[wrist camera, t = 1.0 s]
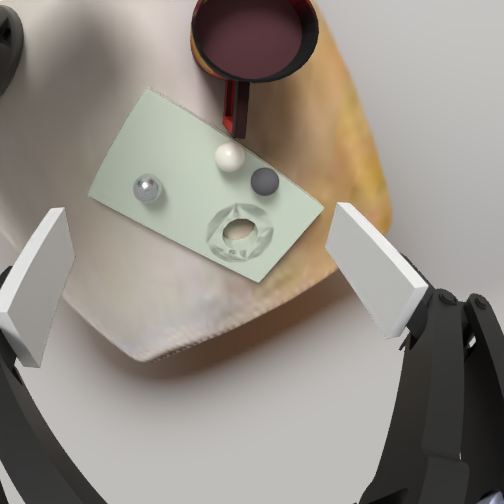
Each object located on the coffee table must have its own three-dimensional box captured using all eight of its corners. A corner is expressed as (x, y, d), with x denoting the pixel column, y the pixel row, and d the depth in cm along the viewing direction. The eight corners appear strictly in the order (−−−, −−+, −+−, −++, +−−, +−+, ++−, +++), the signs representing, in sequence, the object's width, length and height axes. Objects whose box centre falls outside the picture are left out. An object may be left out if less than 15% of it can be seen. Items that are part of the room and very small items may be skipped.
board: (92, 187, 33) (86, 195, 31) (149, 87, 28) (146, 87, 26) (255, 272, 45) (258, 282, 43) (317, 199, 40) (324, 207, 38)
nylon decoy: (204, 159, 30) (227, 177, 29) (221, 134, 29) (245, 151, 28) (215, 162, 33) (237, 178, 32) (231, 139, 32) (254, 154, 31)
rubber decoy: (242, 180, 34) (247, 190, 31) (259, 158, 33) (266, 167, 30) (263, 194, 35) (270, 205, 33) (280, 173, 34) (288, 183, 32)
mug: (222, 125, 32) (239, 149, 23) (177, 21, 24) (172, -6, 14) (298, 97, 32) (347, 110, 22) (259, -5, 24) (294, -38, 14)
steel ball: (130, 188, 32) (125, 199, 29) (144, 164, 30) (139, 174, 28) (153, 201, 33) (151, 213, 30) (168, 178, 32) (166, 188, 29)
